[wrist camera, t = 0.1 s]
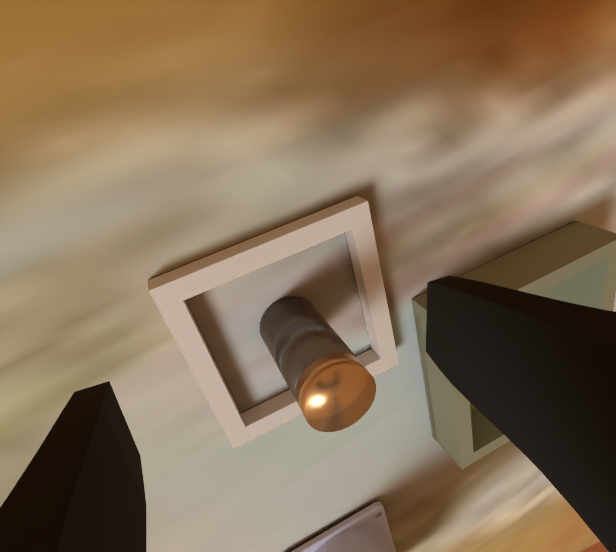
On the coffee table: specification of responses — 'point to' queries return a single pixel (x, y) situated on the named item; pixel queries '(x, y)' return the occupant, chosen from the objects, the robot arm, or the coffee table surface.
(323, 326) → the cylinder
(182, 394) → the coffee table surface
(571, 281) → the bin
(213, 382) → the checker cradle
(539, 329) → the robot arm
